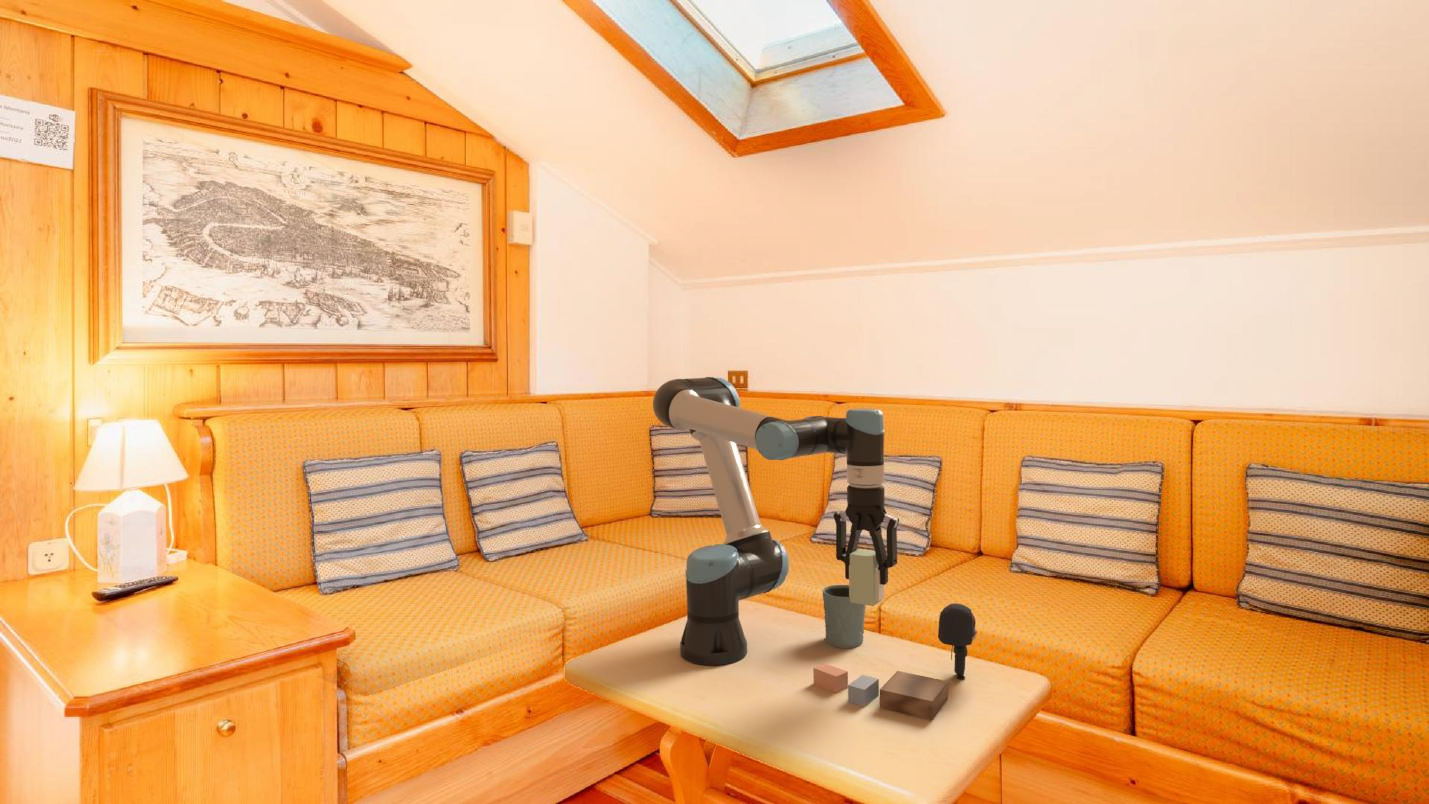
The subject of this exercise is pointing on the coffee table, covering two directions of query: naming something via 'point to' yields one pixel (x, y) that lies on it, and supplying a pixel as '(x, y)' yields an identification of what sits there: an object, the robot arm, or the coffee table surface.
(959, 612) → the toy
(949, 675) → the coffee table surface
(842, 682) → the brick terracotta
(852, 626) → the grey green cup
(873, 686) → the brick slate
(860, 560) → the brick sage
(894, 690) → the brick walnut
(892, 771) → the coffee table surface
